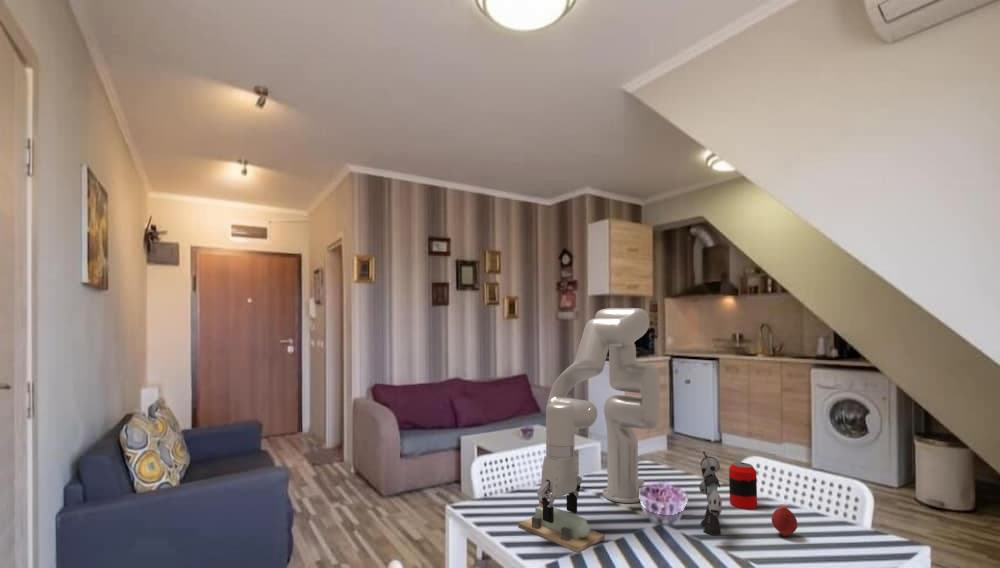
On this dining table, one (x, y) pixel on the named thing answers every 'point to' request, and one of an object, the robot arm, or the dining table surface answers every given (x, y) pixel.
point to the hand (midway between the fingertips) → (560, 516)
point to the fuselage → (565, 522)
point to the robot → (711, 495)
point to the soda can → (743, 485)
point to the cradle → (560, 535)
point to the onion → (784, 521)
